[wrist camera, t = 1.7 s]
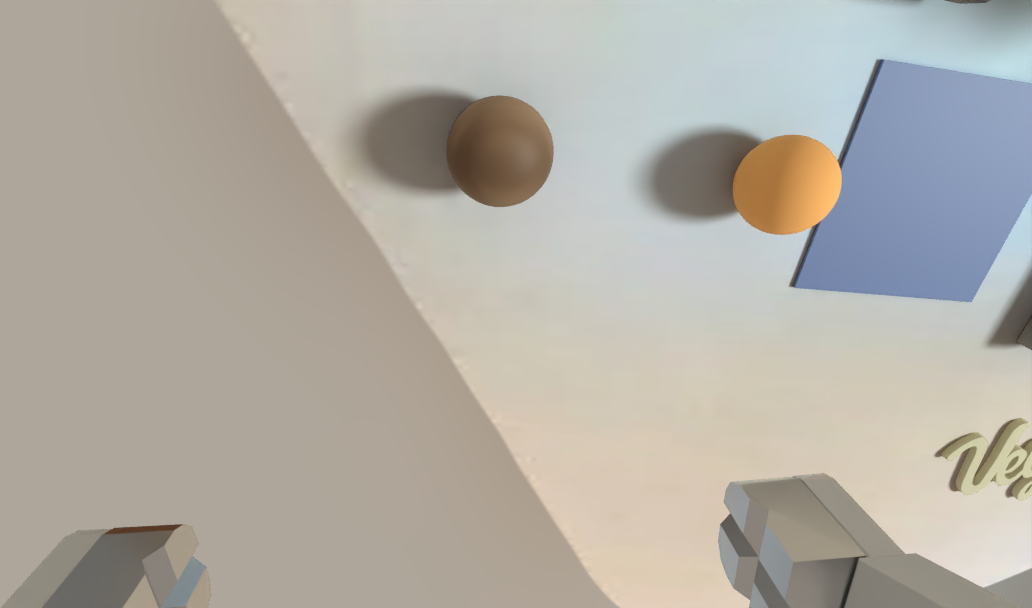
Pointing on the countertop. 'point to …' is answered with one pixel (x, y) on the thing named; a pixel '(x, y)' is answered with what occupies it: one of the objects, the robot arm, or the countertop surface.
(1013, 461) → the decorative sign
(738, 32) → the countertop surface
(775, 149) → the orange ball
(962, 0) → the pipe
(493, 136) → the walnut ball
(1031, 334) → the rail
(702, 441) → the countertop surface
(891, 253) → the blue mark
